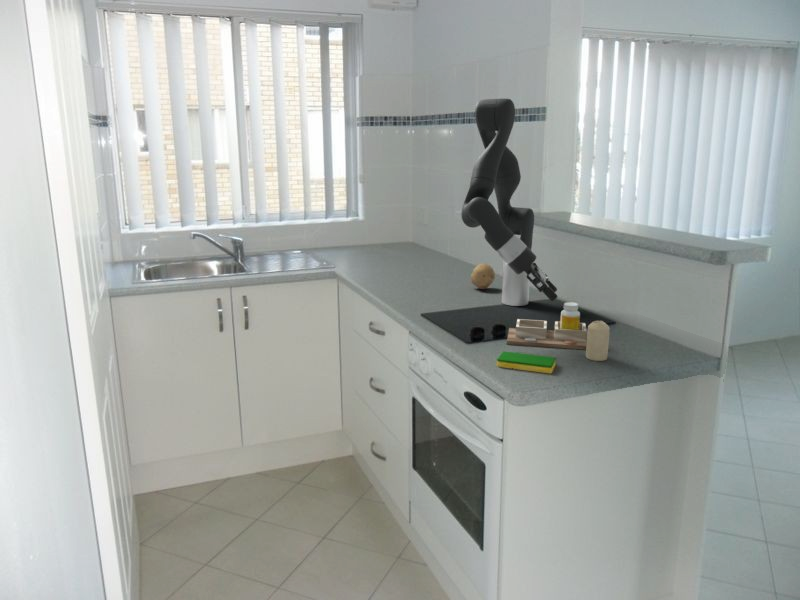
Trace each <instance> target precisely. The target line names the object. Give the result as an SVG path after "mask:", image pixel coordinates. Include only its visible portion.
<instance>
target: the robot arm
mask: <svg viewBox="0 0 800 600" xmlns="http://www.w3.org/2000/svg"><path fill="white" fill-rule="evenodd" d="M474 116H475V117H474V119H475V123H476V127H477V130H478V134H479V135H480V139H481V141H482V144H483V148H484V150H483V152H481V154H480V155H479V156H478V158H477V159H476V161H475V163H474V166H473V167H472V168H473V169H472V173H471V176H470V182H469V183H470V184H469V187H468V191H467V192H466V195H465V197H464V198H465V199H464V201H463V204H462V206H461V207H462V209H461V213H460V215H461V220H462V222H463V223H464V225H465V226H467V227H469V228H472V229H473V228H477V227H481V229H482V230H483V231H484V239H485V241H486V242H487V243H488V244H489V245H490V246H491V248H492V249H494V251H495V253H497V254H498V255H499V257H500V259H502V262H503V263H502V265H503V266H502V286H501V288H502V289H501V303H502V304H503V305H506V306H513V307H519V306H520V307H521V306H527V305H528V304H529V296H530V295H529V294H530V283H531V284H533V286H534V287H535V289H537V291H538V292H539V293H543V294H544V295H545V296H546V297H547V298H548V299H549V300H550V301H551V302H553V301H555V300H556V299H557V298H558V294H557V291H558V287H556V286H555V285H554V283H552V282H551V281H550V278H549V277H548V275H547V273H545V272H544V271H543V270H542V269H541V267H540V266H539V265H538V264H537V263H536V262H535V261H536V260H537V255H536V254H535V253H534V252H533V251H532V248H533V247H532V246H533V236H534V235H533V233H534V227H535V225H534V224H535V212H534V211H533V209H532V208H530V207H519V206H518V207H517V206H515V207H513V206H512V205H511V200H512V197H513V195H514V193H515V192H516V191H517V189H518V186H519V185H520V182H521V178H522V176H521V175H522V174H521V170H520V165H519V164H520V163H519V161H518V158H517V157H516V155H515V154H514V152H513V151H512V150H511V149H510V148H509V147H508V146H507V144H508V142H509V138H510V136H511V133H512V131H513V127H514V123H515V118H516V107H515V103H514V102H513V100H512V99H510V98H487V99H480V100H479V101H477V103H476V105H475V109H474ZM493 192H494V193H495V198H496V202H497V203H496V205H497V209H496V208H495V206H494V205H493V204H492V203H491V202H490V200H489V198H490V196H492V194H493ZM497 210H498V211H497ZM519 236H520V238H519Z"/></svg>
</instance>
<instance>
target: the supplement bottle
mask: <svg viewBox="0 0 800 600" xmlns="http://www.w3.org/2000/svg"><path fill="white" fill-rule="evenodd" d="M580 319H581V312H580V311H579V304H578V302H572V301H571V302H570V301H569V302H564V303H563V310H561V312H560V320H559V321H560V329H569V330H579V323H581V320H580Z"/></svg>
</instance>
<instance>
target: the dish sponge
mask: <svg viewBox="0 0 800 600" xmlns="http://www.w3.org/2000/svg"><path fill="white" fill-rule="evenodd" d="M556 359H557V357H553V356H546V355H539V354H538V355H537V354H531V353H530V354H529V353H520V352H512V351H502V352H501V354H500V355H499V356H498V357H497V359H496V367H498V366H499V367H498V368H504V369H505V368H507V369H512V368H513V370H520V371H521V370H522V371H529V372H535V373H544V374H552V373H553V371H554V369H555V367H556V364H557V363H556V361H557V360H556Z"/></svg>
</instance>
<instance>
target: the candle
mask: <svg viewBox="0 0 800 600" xmlns="http://www.w3.org/2000/svg"><path fill="white" fill-rule="evenodd" d="M610 329H611V328H610V326H609V325H608V324H607V323H606V322H604V321H603V320H594V321H592V322H590V324H588V326H587V346H586V350H585V358H586V359H588V360H590V361H596V362H603V361H604V362H605V361H606V360H607V359H608V354H609V344H610V343H609V342H610Z"/></svg>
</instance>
